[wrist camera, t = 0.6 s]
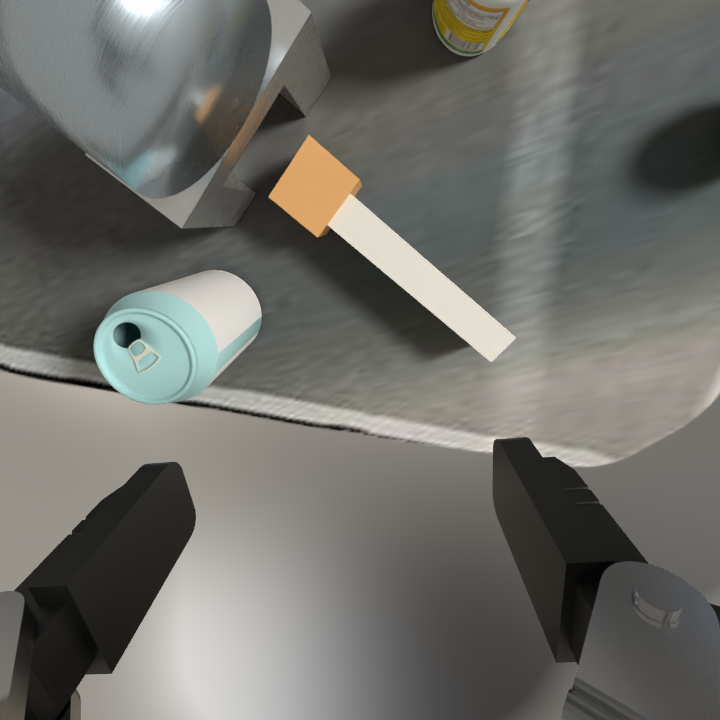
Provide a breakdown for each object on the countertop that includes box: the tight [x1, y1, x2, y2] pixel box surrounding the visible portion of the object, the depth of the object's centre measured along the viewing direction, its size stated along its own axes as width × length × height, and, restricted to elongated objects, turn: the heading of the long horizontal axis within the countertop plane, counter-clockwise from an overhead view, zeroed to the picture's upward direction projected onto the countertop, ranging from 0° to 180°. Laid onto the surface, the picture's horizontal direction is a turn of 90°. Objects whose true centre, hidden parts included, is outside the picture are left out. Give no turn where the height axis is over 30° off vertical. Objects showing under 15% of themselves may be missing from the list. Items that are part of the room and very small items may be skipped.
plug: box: [268, 135, 516, 362], centre depth 28 cm, size 4×20×5 cm, turn 51°
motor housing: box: [0, 0, 331, 229], centre depth 19 cm, size 12×6×18 cm, turn 141°
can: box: [93, 270, 262, 404], centre depth 27 cm, size 7×7×12 cm
